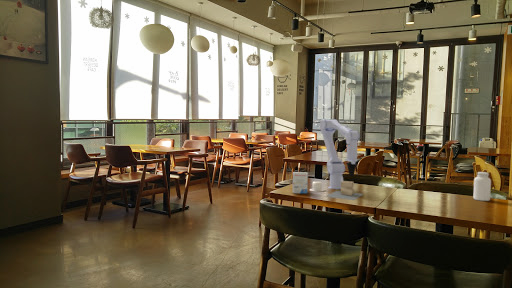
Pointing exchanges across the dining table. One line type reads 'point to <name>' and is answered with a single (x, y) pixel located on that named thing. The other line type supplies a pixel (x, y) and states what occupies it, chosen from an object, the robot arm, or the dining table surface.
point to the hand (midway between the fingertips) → (351, 175)
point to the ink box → (300, 182)
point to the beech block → (347, 187)
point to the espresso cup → (317, 186)
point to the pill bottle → (482, 187)
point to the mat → (342, 196)
